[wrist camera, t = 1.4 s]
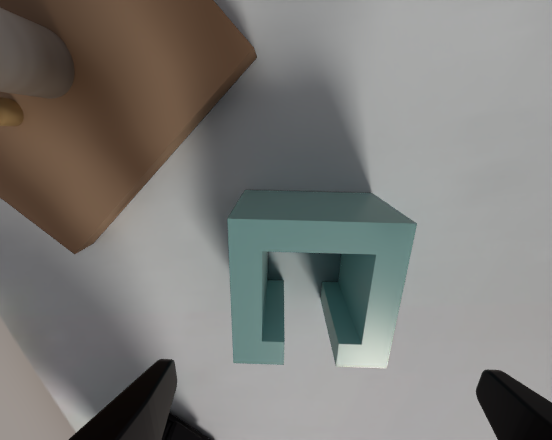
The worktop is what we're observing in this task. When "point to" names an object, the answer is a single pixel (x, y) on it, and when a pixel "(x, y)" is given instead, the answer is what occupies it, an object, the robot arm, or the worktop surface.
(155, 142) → the board
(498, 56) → the worktop surface
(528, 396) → the robot arm
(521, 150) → the worktop surface
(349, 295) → the collar
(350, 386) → the worktop surface
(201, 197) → the worktop surface
